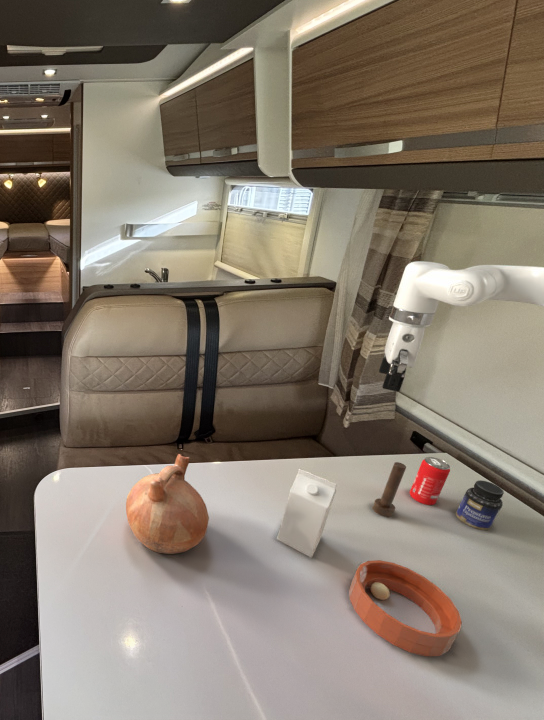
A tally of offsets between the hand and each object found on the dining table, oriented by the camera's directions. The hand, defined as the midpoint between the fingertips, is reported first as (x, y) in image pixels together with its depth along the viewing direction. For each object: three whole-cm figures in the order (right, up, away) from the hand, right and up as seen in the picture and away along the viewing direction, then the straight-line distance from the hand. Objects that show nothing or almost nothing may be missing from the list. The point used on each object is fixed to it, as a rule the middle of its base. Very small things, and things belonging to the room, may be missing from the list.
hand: (388, 381), depth 105 cm
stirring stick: (0, -33, +2) cm, 33 cm away
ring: (-17, -43, -22) cm, 52 cm away
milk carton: (-26, -37, -6) cm, 46 cm away
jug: (-57, -36, -4) cm, 68 cm away
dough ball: (-18, -40, -20) cm, 48 cm away
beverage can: (+13, -32, +6) cm, 35 cm away
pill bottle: (+19, -34, -1) cm, 39 cm away
